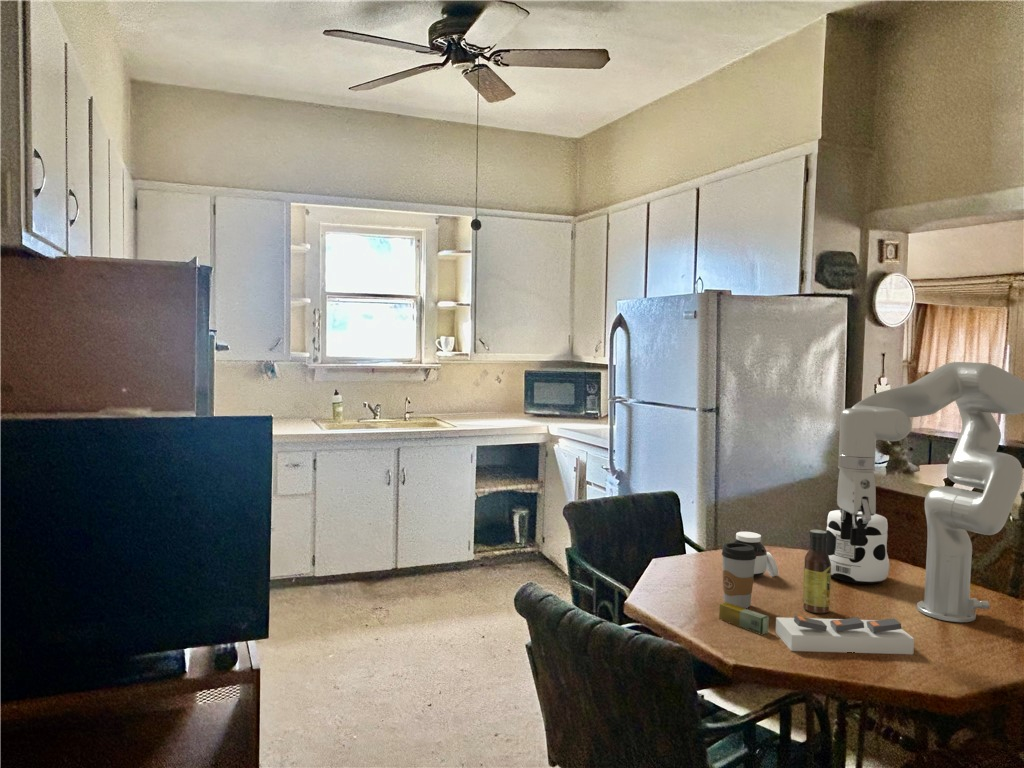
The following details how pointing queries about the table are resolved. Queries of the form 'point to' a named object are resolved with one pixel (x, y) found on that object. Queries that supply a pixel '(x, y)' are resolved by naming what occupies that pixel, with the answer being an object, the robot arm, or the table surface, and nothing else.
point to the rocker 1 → (810, 623)
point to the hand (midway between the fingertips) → (852, 541)
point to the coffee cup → (738, 573)
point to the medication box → (744, 618)
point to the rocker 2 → (884, 625)
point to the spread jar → (758, 553)
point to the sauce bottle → (817, 574)
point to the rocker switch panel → (843, 638)
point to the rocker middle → (847, 624)
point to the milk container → (858, 551)
